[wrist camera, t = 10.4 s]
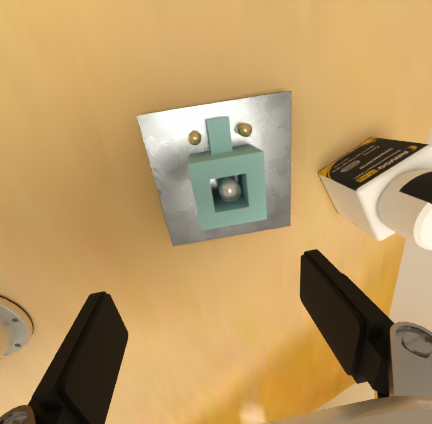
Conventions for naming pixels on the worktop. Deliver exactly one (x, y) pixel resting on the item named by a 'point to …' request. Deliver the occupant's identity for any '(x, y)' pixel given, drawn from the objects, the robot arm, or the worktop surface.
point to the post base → (198, 142)
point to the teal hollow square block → (223, 167)
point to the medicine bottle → (385, 189)
